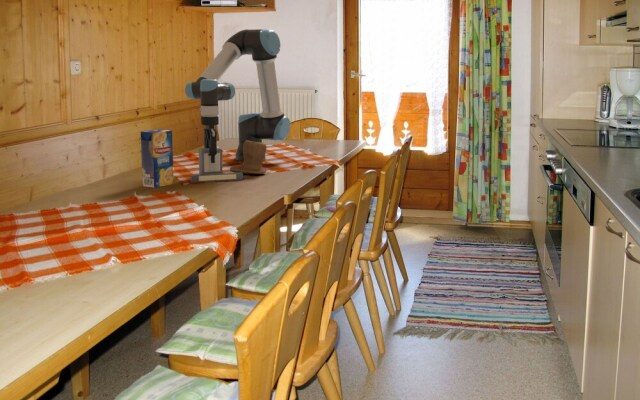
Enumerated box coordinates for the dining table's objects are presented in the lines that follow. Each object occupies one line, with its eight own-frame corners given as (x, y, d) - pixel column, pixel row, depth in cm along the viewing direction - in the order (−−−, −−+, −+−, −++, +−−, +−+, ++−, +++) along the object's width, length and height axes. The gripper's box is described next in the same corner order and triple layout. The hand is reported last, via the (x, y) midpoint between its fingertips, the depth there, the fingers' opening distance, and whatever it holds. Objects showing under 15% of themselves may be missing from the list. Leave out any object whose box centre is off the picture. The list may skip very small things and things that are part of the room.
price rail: (191, 182, 323) (190, 174, 323) (242, 179, 331) (241, 172, 331) (191, 182, 322) (191, 175, 321) (243, 179, 330) (243, 172, 329)
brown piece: (271, 173, 348) (271, 139, 345) (258, 176, 338) (258, 142, 335) (242, 170, 355) (242, 137, 352) (228, 174, 344) (228, 140, 341)
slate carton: (219, 174, 341) (219, 147, 339) (222, 176, 337) (222, 149, 334) (199, 175, 338) (198, 148, 336) (202, 177, 333) (201, 150, 331)
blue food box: (173, 183, 319) (172, 130, 315) (154, 187, 310) (152, 132, 306) (161, 182, 323) (159, 129, 318) (142, 185, 314) (140, 131, 309)
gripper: (196, 114, 339) (197, 166, 344) (206, 117, 322) (207, 172, 327) (213, 113, 342) (214, 165, 346) (223, 117, 325) (224, 172, 329)
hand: (210, 169), depth 337 cm, fingers open, 6 cm apart
